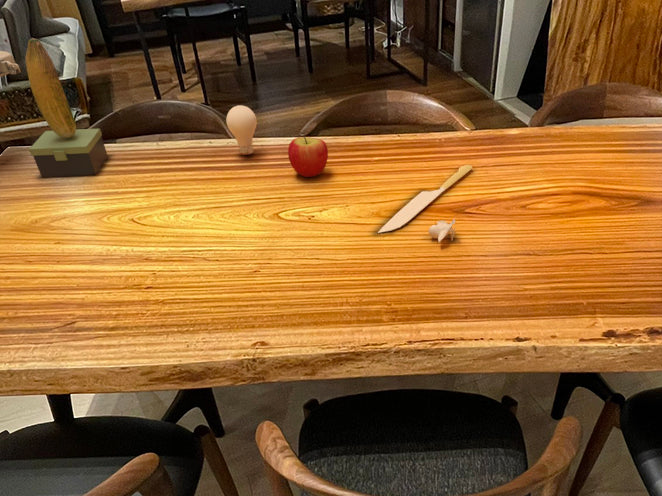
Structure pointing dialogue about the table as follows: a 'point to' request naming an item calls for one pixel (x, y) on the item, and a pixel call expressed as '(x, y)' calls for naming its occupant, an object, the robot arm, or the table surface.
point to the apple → (308, 155)
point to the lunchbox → (69, 153)
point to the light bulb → (242, 127)
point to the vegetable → (48, 90)
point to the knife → (421, 202)
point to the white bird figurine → (442, 229)
